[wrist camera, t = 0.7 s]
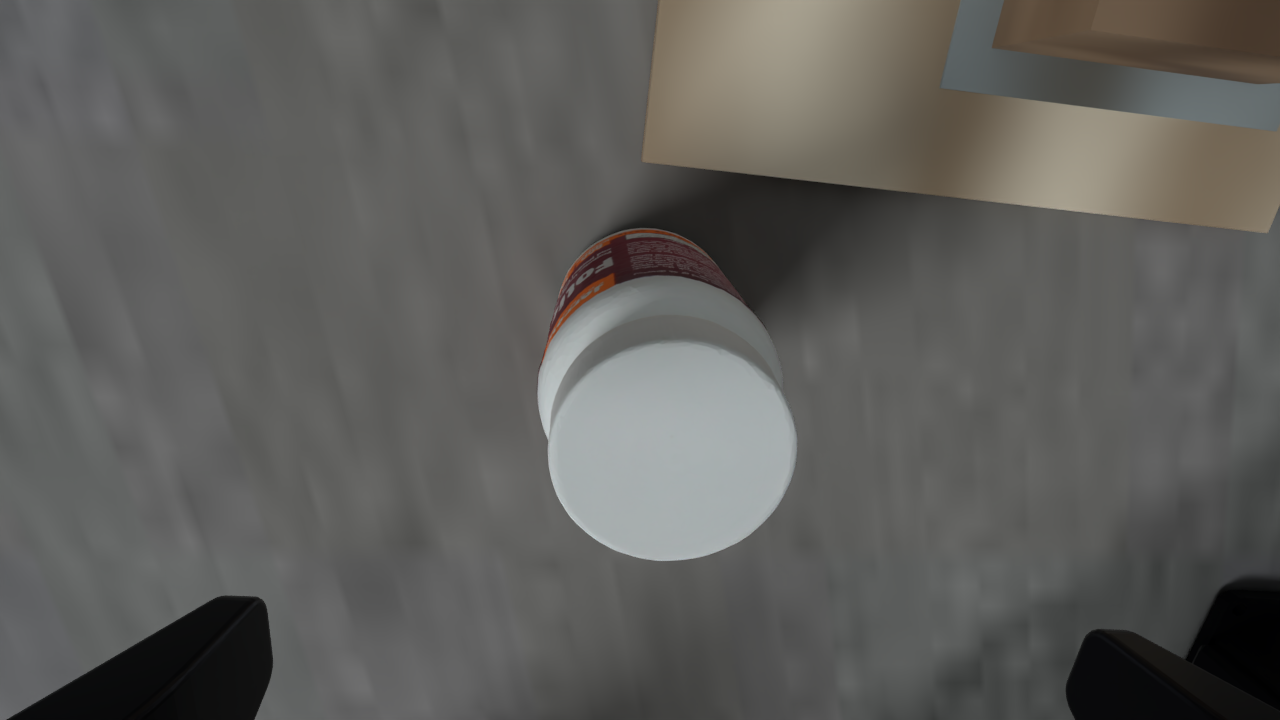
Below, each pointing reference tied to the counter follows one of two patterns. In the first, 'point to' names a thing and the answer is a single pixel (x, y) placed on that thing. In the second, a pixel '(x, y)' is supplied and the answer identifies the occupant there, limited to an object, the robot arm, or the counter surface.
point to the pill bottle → (662, 401)
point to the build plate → (952, 112)
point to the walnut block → (1151, 34)
